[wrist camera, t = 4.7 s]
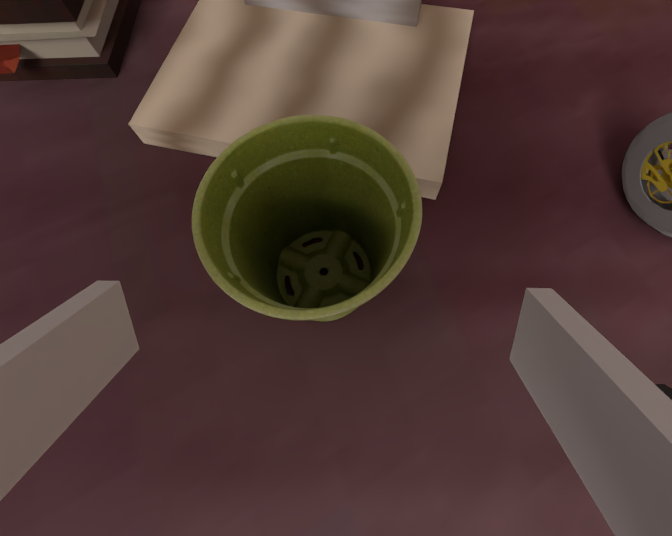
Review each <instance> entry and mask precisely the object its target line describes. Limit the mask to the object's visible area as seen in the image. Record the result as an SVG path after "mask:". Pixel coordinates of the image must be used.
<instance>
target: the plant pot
mask: <svg viewBox="0 0 672 536" xmlns="http://www.w3.org/2000/svg"><path fill="white" fill-rule="evenodd" d="M421 223H422V200H421V194H420V190H419V186H418V183H417V180H416V177H415V175H414V172H413V171H412V169H411V167H410V165H409V164H408V163H407V161H406V160H405V158H404V157H403V155H402V154H401V153H400V152H399V150H398V149H397V148H396V147H395V146H394V145H392V144H391V142H389V141H387V140H386V139H385V138H384V137H383V136H381V135H380V134H378V133H377V132H375V131H374V130H372V129H370V128H369V127H366V126H364V125H362V124H360V123H357V122H354V121H351V120H348V119H345V118H341V117H335V116H327V115H322V116H321V115H298V116H291V117H286V118H282V119H278V120H276V121H273V122H269V123H266V124H263V125H261V126H259V127H256V128H254V129H253V130H251V131H250V132H248V133H247V134H244V135H243V136H241V137H239V138H238V139H236V140H235V141H234V142H232V143H231V144H230V145H229V146H227V147H226V149H225V150H224V151H223V152H222V153H221V154H220V155H219V156H218V157H217V158H216V160H215V161H214V162H213V163H212V164H211V165H210V167H209V168H208V170H207V171H206V173H205V175H204V177H203V179H202V181H201V183H200V185H199V187H198V190H197V192H196V196H195V200H194V204H193V210H192V233H193V239H194V243H195V247H196V250H197V253H198V256H199V258H200V260H201V262H202V264H203V266H204V268H205V269H206V271H207V272H208V274H209V275H210V277H211V278H212V279H213V280H214V282H215V283H216V284H217V285H218V286H219V287H220V288H221V289H222V290H223V291H224V292H225V293H226V294H228V295H229V296H230V297H231V298H233V299H234V300H236V301H237V302H239V303H240V304H242V305H243V306H245V307H247V308H249V309H252V310H254V311H256V312H258V313H261V314H264V315H267V316H271V317H275V318H280V319H287V320H314V321H331V320H336V319H339V318H342V317H344V316H346V315H348V314H350V313H351V312H352V311H354V310H355V309H357V308H358V307H359V306H360V305H362V304H364V303H366V302H367V301H369V300H370V299H372V298H373V297H375V296H376V295H378V294H379V293H380V292H381V291H383V290H384V289H385V288H386V287H387V286H388V285H389V284H390V283H391V282H392V281H393V280H394V279H395V278H396V277H397V275H398V274H399V273H400V272H401V270H402V269H403V267H404V266H405V264H406V263H407V261H408V259H409V258H410V256H411V254H412V252H413V249H414V247H415V245H416V242H417V239H418V236H419V232H420V228H421ZM313 238H321V239H322V241H321V242H318V243H314V244H311V245H309V246H306V247H305V248H304V247H302V246H303V243H304V242H307V241H310V240H311V239H313ZM353 252H355V253H357V254H358V255H359V256H360V257H361V259H362V261H363V265H364V268H363V270H359V269H358V265H357V261H356V259H355V257H354V254H353ZM323 268H326V269H327V270H328V273H327V274H326V275H321V274H320V270H321V269H323ZM286 276H289V278H290V284H291V287H292V289H293V291H294V296H291V295H290V294H288V293H287V290H286V286H285V277H286Z"/></svg>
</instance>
